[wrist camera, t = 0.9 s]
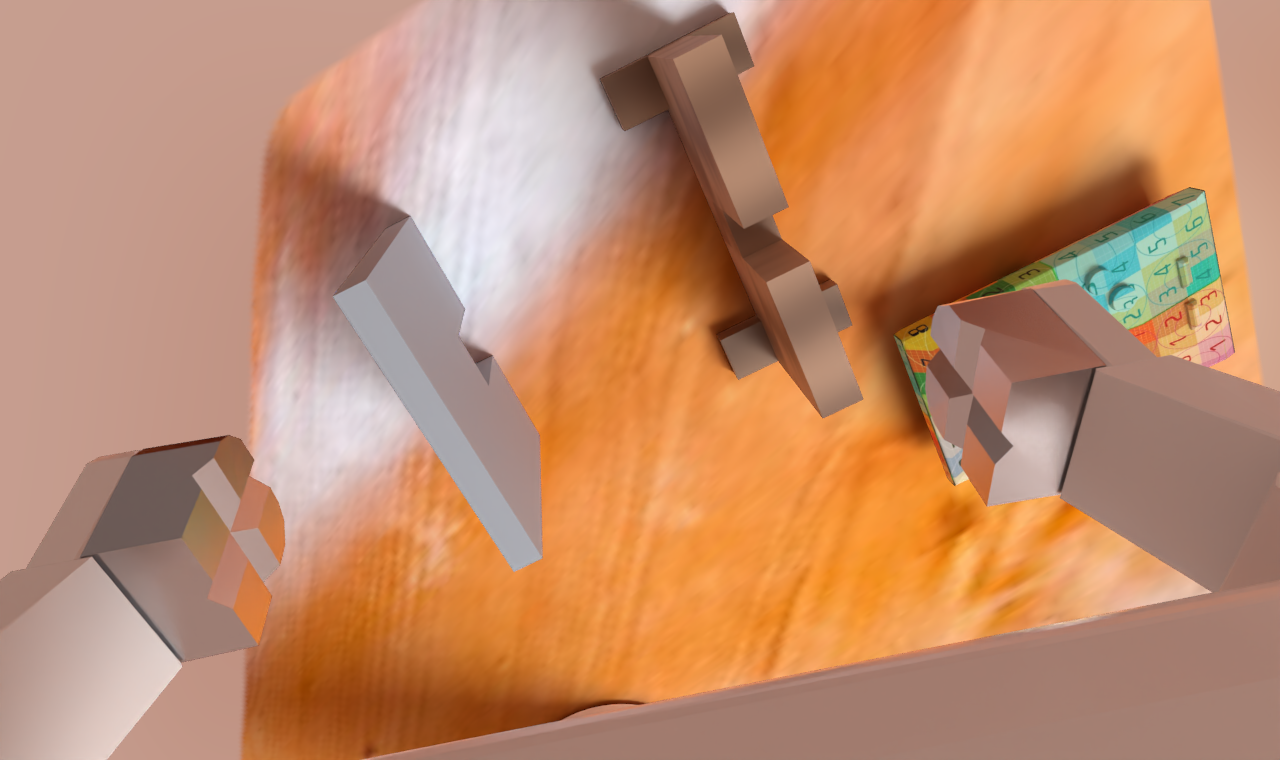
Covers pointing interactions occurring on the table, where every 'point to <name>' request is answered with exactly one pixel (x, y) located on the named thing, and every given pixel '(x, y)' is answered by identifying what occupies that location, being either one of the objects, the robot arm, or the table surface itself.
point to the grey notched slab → (449, 386)
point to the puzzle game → (1118, 292)
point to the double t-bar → (743, 208)
